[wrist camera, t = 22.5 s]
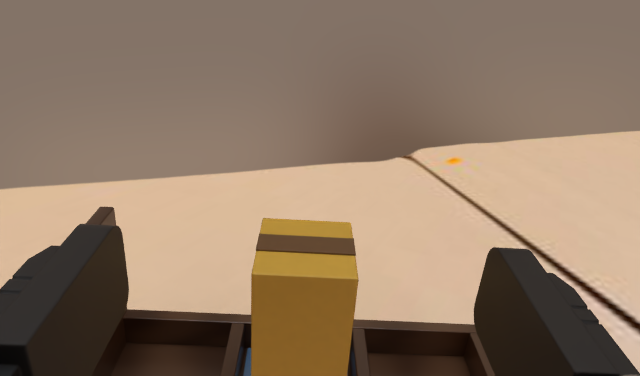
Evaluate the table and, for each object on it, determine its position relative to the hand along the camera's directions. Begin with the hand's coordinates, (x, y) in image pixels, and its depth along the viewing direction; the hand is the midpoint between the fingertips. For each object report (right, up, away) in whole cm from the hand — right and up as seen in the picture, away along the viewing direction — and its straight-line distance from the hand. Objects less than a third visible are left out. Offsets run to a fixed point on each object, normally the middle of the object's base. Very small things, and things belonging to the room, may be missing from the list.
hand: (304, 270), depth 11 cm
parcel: (-1, -10, +17) cm, 19 cm away
